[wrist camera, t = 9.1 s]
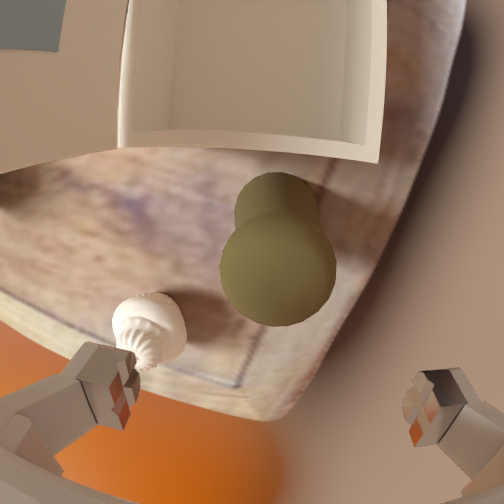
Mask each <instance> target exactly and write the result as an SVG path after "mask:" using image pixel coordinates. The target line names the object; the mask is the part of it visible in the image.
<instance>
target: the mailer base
mask: <svg viewBox="0 0 504 504" xmlns="http://www.w3.org/2000/svg"><path fill="white" fill-rule="evenodd" d="M386 57H387V0H129V5H128V12H127V19H126V27H125V35H124V44H123V54H122V65H121V78H120V95H119V122H118V147H207V148H231V149H248V150H263V151H276V152H288V153H298V154H308V155H317V156H326V157H334V158H342V159H349V160H356V161H363V162H370V163H376V164H378V159H379V151H380V142H381V132H382V122H383V110H384V97H385V80H386Z"/></svg>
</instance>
